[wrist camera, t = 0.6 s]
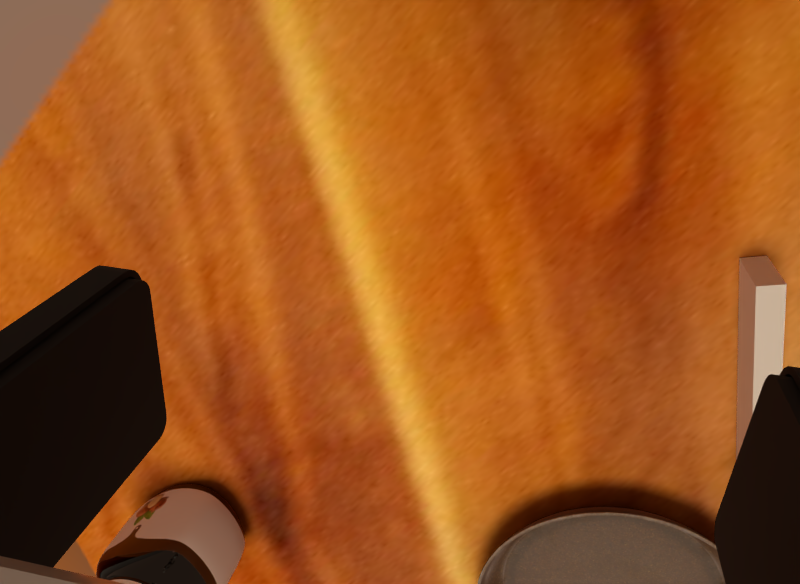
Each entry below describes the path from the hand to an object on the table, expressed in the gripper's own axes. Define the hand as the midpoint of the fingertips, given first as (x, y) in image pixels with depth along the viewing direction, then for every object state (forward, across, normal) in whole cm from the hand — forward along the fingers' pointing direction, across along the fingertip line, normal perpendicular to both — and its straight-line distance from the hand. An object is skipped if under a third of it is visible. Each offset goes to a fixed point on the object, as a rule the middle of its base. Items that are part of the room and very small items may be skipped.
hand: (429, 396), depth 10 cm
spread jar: (+32, +24, +42) cm, 58 cm away
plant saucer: (+33, -12, +38) cm, 52 cm away
